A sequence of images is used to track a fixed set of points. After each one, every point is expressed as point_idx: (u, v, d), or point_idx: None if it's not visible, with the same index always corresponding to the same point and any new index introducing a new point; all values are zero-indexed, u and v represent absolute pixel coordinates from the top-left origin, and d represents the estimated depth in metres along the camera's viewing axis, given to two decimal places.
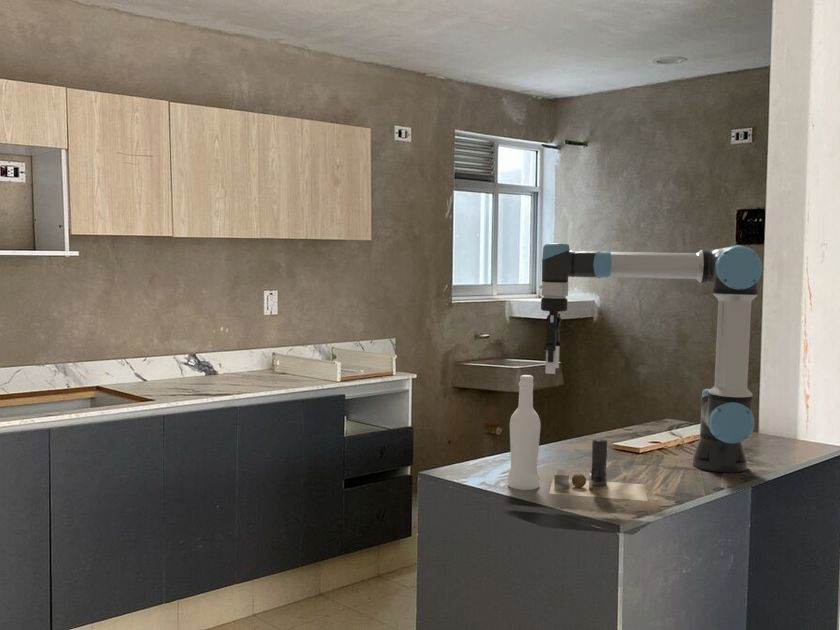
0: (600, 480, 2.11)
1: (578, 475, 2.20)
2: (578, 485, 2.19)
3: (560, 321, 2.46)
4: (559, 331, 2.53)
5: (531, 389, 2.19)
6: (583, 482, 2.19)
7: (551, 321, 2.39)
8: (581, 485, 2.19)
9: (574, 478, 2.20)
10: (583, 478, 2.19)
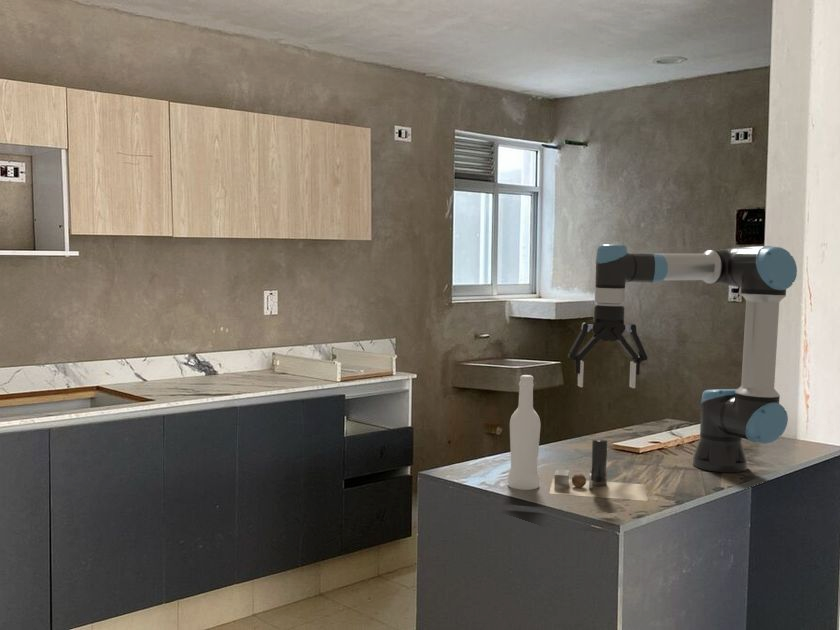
0: (600, 480, 2.11)
1: (578, 475, 2.20)
2: (578, 485, 2.19)
3: (613, 332, 2.18)
4: (638, 346, 2.19)
5: (531, 389, 2.19)
6: (583, 482, 2.19)
7: (582, 329, 2.19)
8: (581, 485, 2.19)
9: (574, 478, 2.20)
10: (583, 478, 2.19)
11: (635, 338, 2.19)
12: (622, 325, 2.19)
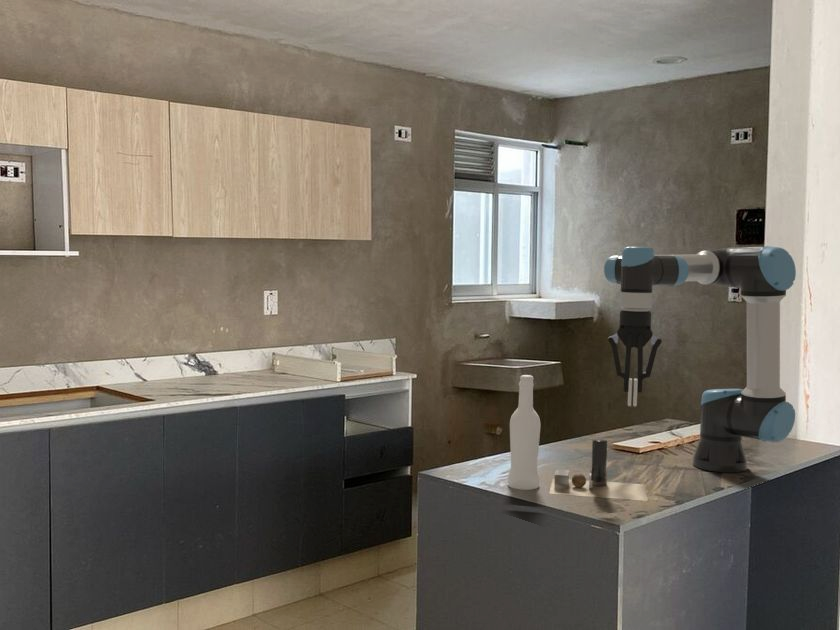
0: (600, 480, 2.11)
1: (578, 475, 2.20)
2: (578, 485, 2.19)
3: (637, 337, 2.07)
4: (650, 361, 2.08)
5: (531, 389, 2.19)
6: (583, 482, 2.19)
7: None
8: (581, 485, 2.19)
9: (574, 478, 2.20)
10: (583, 478, 2.19)
11: (652, 352, 2.08)
12: (650, 332, 2.08)
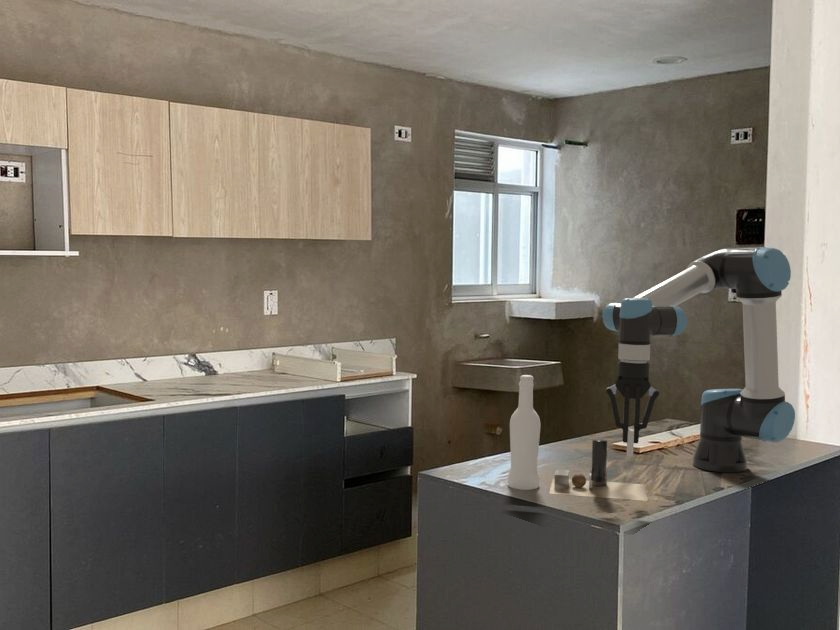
0: (600, 480, 2.11)
1: (578, 475, 2.20)
2: (578, 485, 2.19)
3: (635, 388, 2.08)
4: (647, 412, 2.09)
5: (531, 389, 2.19)
6: (583, 482, 2.19)
7: None
8: (581, 485, 2.19)
9: (574, 478, 2.20)
10: (583, 478, 2.19)
11: (649, 403, 2.08)
12: (648, 384, 2.08)
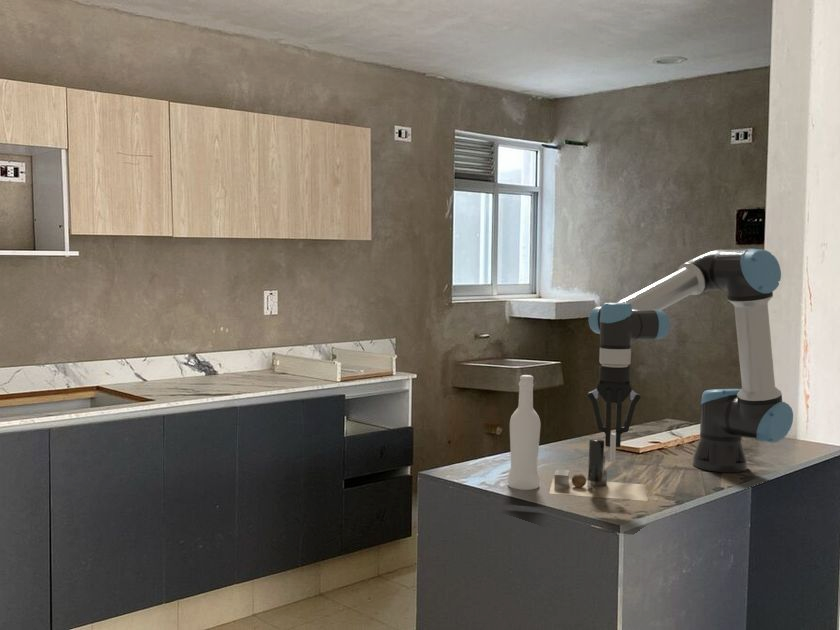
0: (596, 480, 2.12)
1: (578, 475, 2.20)
2: (578, 485, 2.19)
3: (617, 393, 2.09)
4: (628, 416, 2.10)
5: (531, 389, 2.19)
6: (583, 482, 2.19)
7: None
8: (581, 485, 2.19)
9: (574, 478, 2.20)
10: (583, 478, 2.19)
11: (631, 407, 2.09)
12: (629, 388, 2.09)
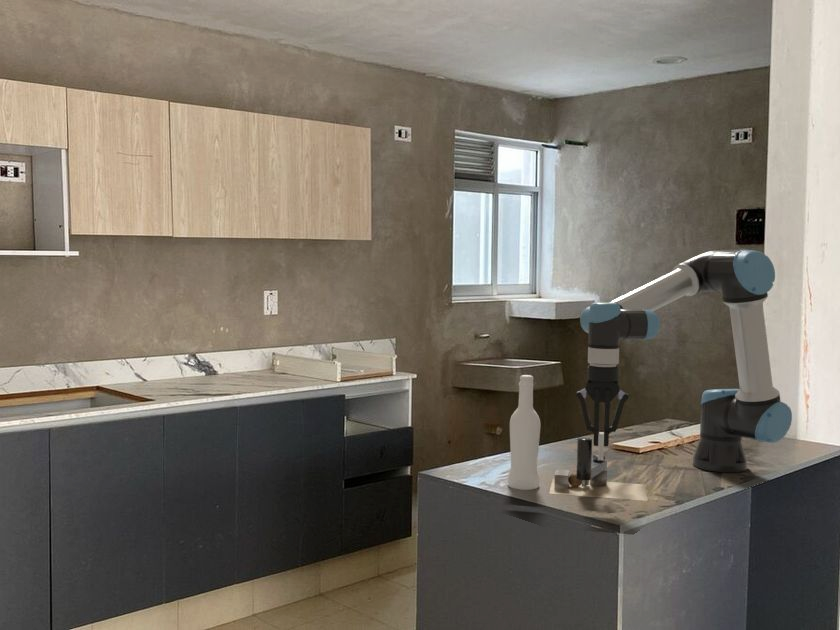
0: (582, 478, 2.13)
1: (572, 475, 2.21)
2: (576, 483, 2.20)
3: (605, 392, 2.10)
4: (616, 415, 2.10)
5: (531, 389, 2.19)
6: None
7: None
8: (579, 482, 2.20)
9: (569, 479, 2.20)
10: None
11: (619, 407, 2.10)
12: (617, 387, 2.10)
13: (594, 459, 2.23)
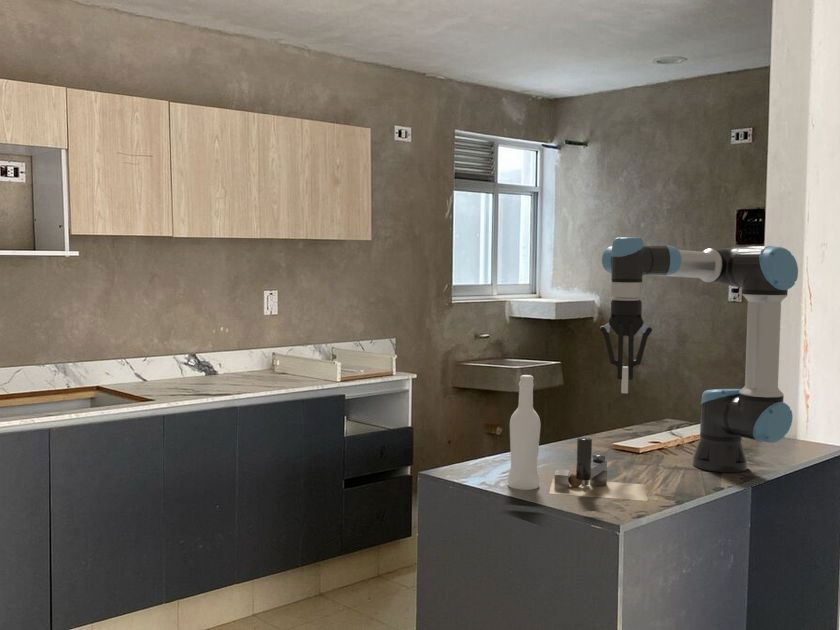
0: (582, 478, 2.13)
1: (572, 475, 2.21)
2: (576, 483, 2.20)
3: (628, 326, 2.12)
4: (640, 349, 2.13)
5: (531, 389, 2.19)
6: None
7: None
8: (579, 482, 2.20)
9: (569, 479, 2.20)
10: None
11: (643, 340, 2.13)
12: (641, 321, 2.12)
13: (594, 459, 2.23)
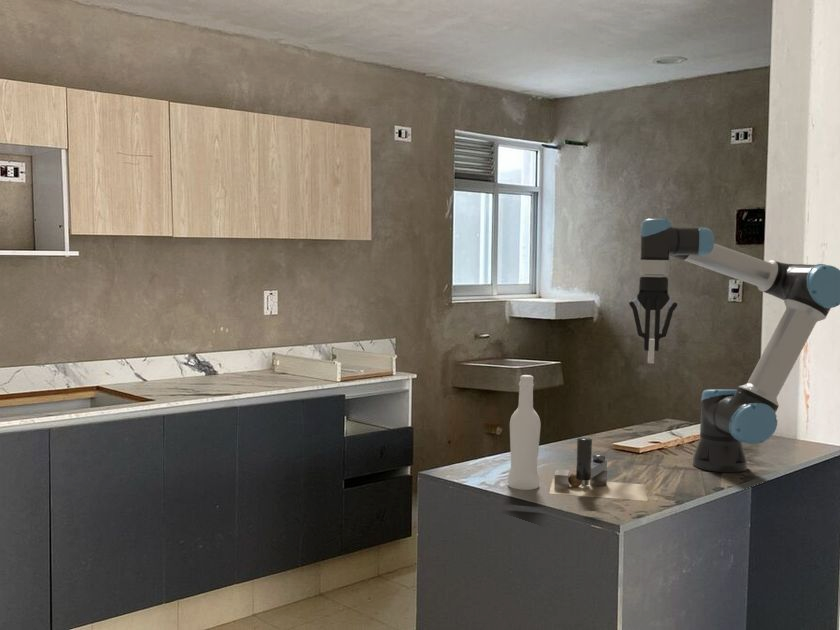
0: (582, 478, 2.13)
1: (572, 475, 2.21)
2: (576, 483, 2.20)
3: (655, 301, 2.30)
4: (666, 322, 2.30)
5: (531, 389, 2.19)
6: None
7: None
8: (579, 482, 2.20)
9: (569, 479, 2.20)
10: None
11: (668, 314, 2.30)
12: (667, 296, 2.30)
13: (594, 459, 2.23)
